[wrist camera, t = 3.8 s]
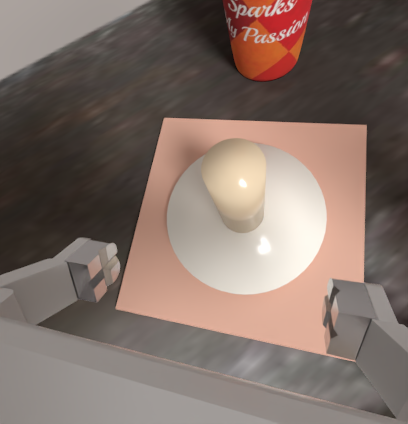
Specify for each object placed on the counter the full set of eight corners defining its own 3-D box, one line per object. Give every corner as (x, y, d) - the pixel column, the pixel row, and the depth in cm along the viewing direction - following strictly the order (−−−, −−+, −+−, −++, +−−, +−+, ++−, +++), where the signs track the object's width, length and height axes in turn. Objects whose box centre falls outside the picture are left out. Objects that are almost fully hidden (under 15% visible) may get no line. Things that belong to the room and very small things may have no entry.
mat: (118, 308, 20) (115, 309, 20) (165, 120, 25) (164, 117, 24) (359, 361, 16) (361, 363, 16) (364, 128, 21) (366, 125, 20)
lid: (156, 280, 20) (96, 268, 13) (184, 145, 23) (148, 71, 16) (320, 308, 17) (363, 313, 10) (327, 151, 20) (364, 68, 13)
